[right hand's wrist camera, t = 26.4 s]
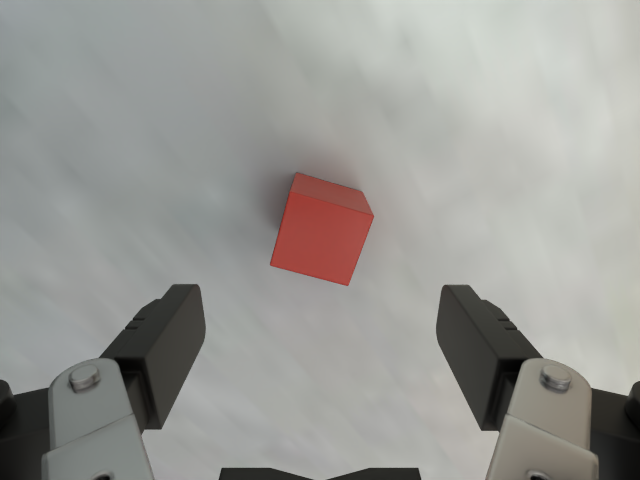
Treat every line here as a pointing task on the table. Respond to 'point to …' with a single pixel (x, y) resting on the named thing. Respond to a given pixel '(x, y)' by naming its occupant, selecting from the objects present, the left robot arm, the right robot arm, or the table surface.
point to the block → (322, 230)
